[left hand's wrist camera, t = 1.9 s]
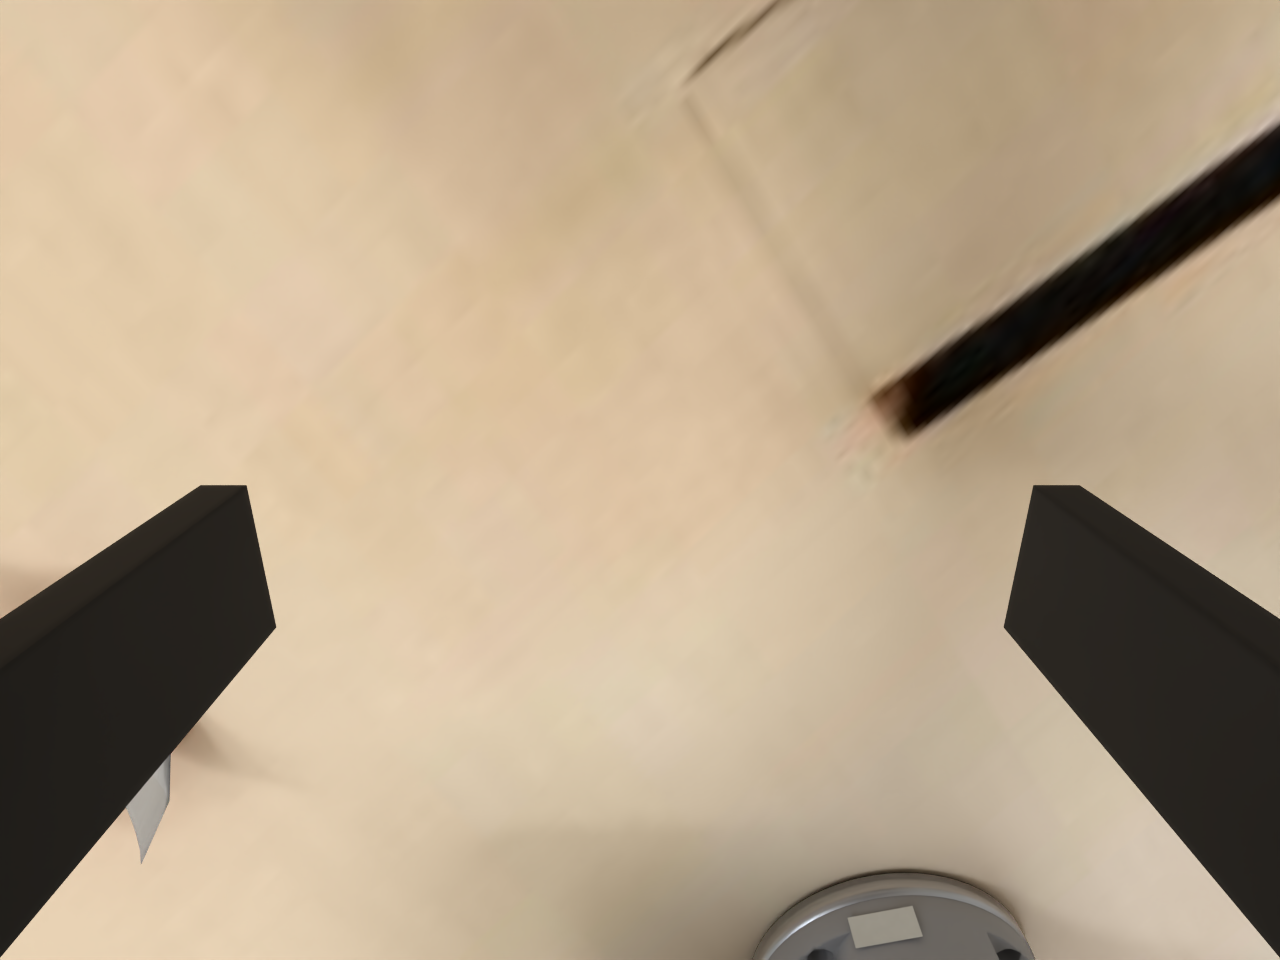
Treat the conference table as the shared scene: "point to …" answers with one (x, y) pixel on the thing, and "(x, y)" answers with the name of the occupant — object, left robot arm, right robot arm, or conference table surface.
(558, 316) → the conference table surface
